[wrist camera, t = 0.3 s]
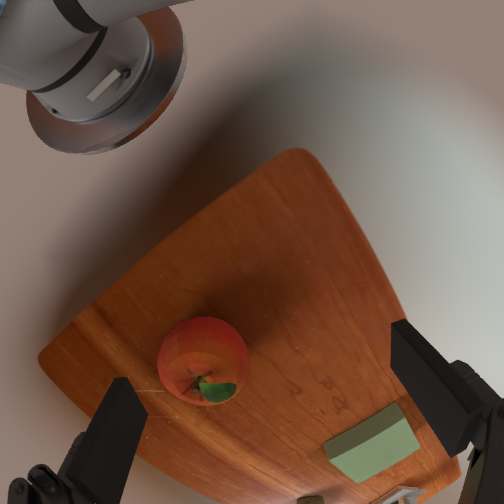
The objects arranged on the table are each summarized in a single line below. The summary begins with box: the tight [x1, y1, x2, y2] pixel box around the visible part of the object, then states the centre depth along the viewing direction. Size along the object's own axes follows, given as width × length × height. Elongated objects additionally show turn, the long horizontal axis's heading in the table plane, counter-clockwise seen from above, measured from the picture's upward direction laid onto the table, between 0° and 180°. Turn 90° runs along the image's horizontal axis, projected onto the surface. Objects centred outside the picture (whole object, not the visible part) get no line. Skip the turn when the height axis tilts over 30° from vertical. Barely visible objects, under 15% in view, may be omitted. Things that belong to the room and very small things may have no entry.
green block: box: [324, 402, 421, 484], centre depth 37 cm, size 13×13×4 cm
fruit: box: [157, 316, 250, 406], centre depth 28 cm, size 10×10×10 cm
